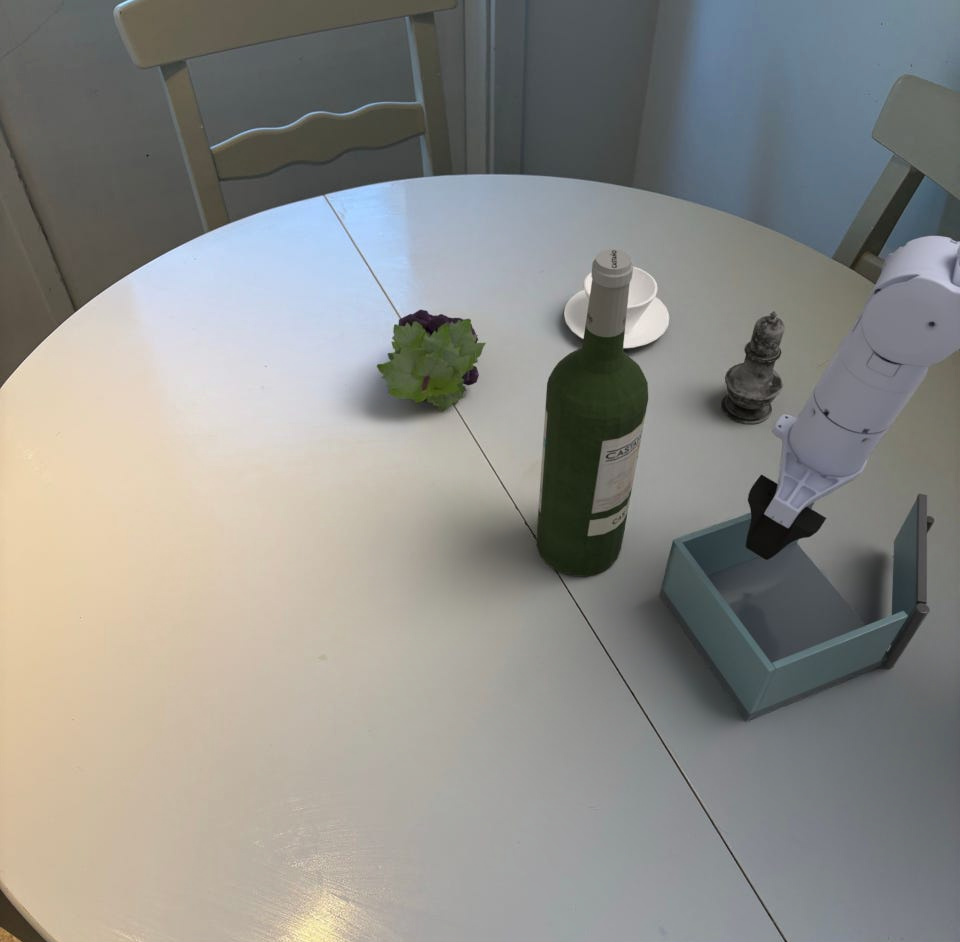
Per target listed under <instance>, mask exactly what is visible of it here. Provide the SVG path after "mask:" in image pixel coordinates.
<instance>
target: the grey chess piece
mask: <svg viewBox="0 0 960 942" xmlns="http://www.w3.org/2000/svg"><path fill="white" fill-rule="evenodd" d="M785 326H786V325H785V324H784V322H783V320H782V319H781V318H779V317H778V315H777V313H776V311H771V312H770V313H769V315H764V316H762V317H760V318H758V319H757V320H756V321H755V324H754V327H753V330H752V334H751V336H750V341H748V342H747V343H746V344H745V345H744V349H743V351H744V353H745V357H744V360H743V362H741V363H738V364H735V365H733V366H731V367H730V368H729V369H728V370H727V371H726V373H725V376H724V381H725V385H726V391H727V393H726V394H725V395H724V396H723V397H722V399H721V402H720V407H721V410H722V412H723V413H724V414H725V415H726V417H728V418H729V419H730V420H732V421H734V422H737V423H740V424H744V425H758V424H761V423H763V422H766V421H767V420H768V419H769V418H770V416H771V415H772V412H773V407H772V404H771V403H772V402H773V401H774V400H775V399H776V398H777V396H779V395H780V394H781V392H782V390H783V389H784V388H783V387H784V380H783V378H782V377H781V374H780V373H778V372H777V371H776V370H775V365H776V362H777V361H778V360H779V359H780V358H781V356H782V350H781V347H780V346H781V342H782V339H783V336H784V333H785V329H786V327H785Z"/></svg>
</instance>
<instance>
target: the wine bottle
mask: <svg viewBox="0 0 960 942" xmlns="http://www.w3.org/2000/svg"><path fill="white" fill-rule="evenodd" d="M591 265H592V266H591V272H592V284H591V291H590V298H589V305H588V311H587V318H586V325H585V332H584V338H583V339H582V340H583V341H582V346H581V348H578V349H576V350H574V351H572V352H569V353H568V354H567V355H565V356H564V357H563V358H562V359H560V360H559V362H557V363H556V365H555V366H554V368H553V369H552V371H551V373H550V375H549V376H548V378H547V383H546V392H545V408H544V420H543V421H544V422H543V435H542V438H543V439H542V452H541V466H540V480H539V494H538V496H539V497H538V510H537V511H538V512H537V525H536V526H537V527H536V542H535V543H536V544H535V546H536V548H537V551H538V553H539V556H540V557H541V559H542V560H543V561H544V562H545V564H547V565H548V566H549V567H551V568H552V569H554V570H555V571H557V572H558V573H561V574H565V575H568V576H571V577H589V576H593V575H598V574H600V573H602V572H603V571H606V570H607V569H609V568H610V567H611V566H612V565H613V564H614V563H615V562H616V561H617V560H618V558H619V555H620V553H621V550H622V546H623V540H624V534H625V529H626V523H627V518H628V513H629V507H630V501H631V495H632V492H633V486H634V479H635V475H636V470H637V469H636V468H637V462H638V458H639V452H640V448H641V447H640V446H641V442H642V436H643V430H644V424H645V419H646V414H647V409H648V404H649V403H648V402H649V385H648V383H649V382H648V381H647V378H646V376H645V373H644V371H643V369H642V368H641V366H640V365H639V363H637V361H635V360H634V359H633V358H631V356H629V355H628V354H627V353H626V352H625V351H624V348H623V345H624V335H625V325H626V315H627V305H628V295H629V285H630V281H631V279H632V273H633V267H634V263H633V262H632V257H631V255H630V254H629V253H628V252H626V251H624V250H622V249H617V248H607V249H604V250H601V251H600V252H598V253H597V254H596V256H595V258H594V260H593V261H592V264H591Z"/></svg>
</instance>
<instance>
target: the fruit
mask: <svg viewBox="0 0 960 942" xmlns="http://www.w3.org/2000/svg"><path fill="white" fill-rule="evenodd" d="M392 330H393V331H392V333H393V336H392V337H391V339H392V340H393V341H391V346H392V348H393V350H394V352H388V353H387V357H388V359H389V361H386V362H383V363H378V364H376V368H377V370H378V372H379V373H380V374H381V375H382V376H381V377H380V378H381V379H383V380H385V381H386V382H387V383H386V384H385V386H386V387H388V391H387V394H389V395H390V396H392V397H394V398H396V399H399V400H400V399H401V400H402V399H403V400H413V401H414V403H415V404H417V403H421V402H423V401H425V400H426V402H427V403H428V404H429V403H430V404H431V403H432V406H437V408H438V409H439V411H441V412H442V411H445V410H448V408H452V407H453V406H454V407H455V406H456V405H457V404H458V403H459V400H461V399H463V398H465V394H463V392H465V391H466V390H467V388H466V386H472V385H473V384H477V382H478V379H479V376H480V374H479V371H478V368H477V366H475V364H477V363H478V362H479V360H478V358H480V357H481V355H482V352H483V349H484V347H485V345H486V343H487V342H479V337H478V336H479V334H477V333H476V331H475V329H474V327H473V325H472V320H471V319H470V318H464V319H463V318H461V317H449V316H446V315H445V314H442V313H440V314H438V315H436V314H435V315H433V314H430V313H429V311H428V310H426V309H425V310H424V309H419V310H417V311H415V312H413V313H409V314H407V315H405V316H403V317H401V318H399V319H398V324H396V323H395V324H393V329H392Z"/></svg>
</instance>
